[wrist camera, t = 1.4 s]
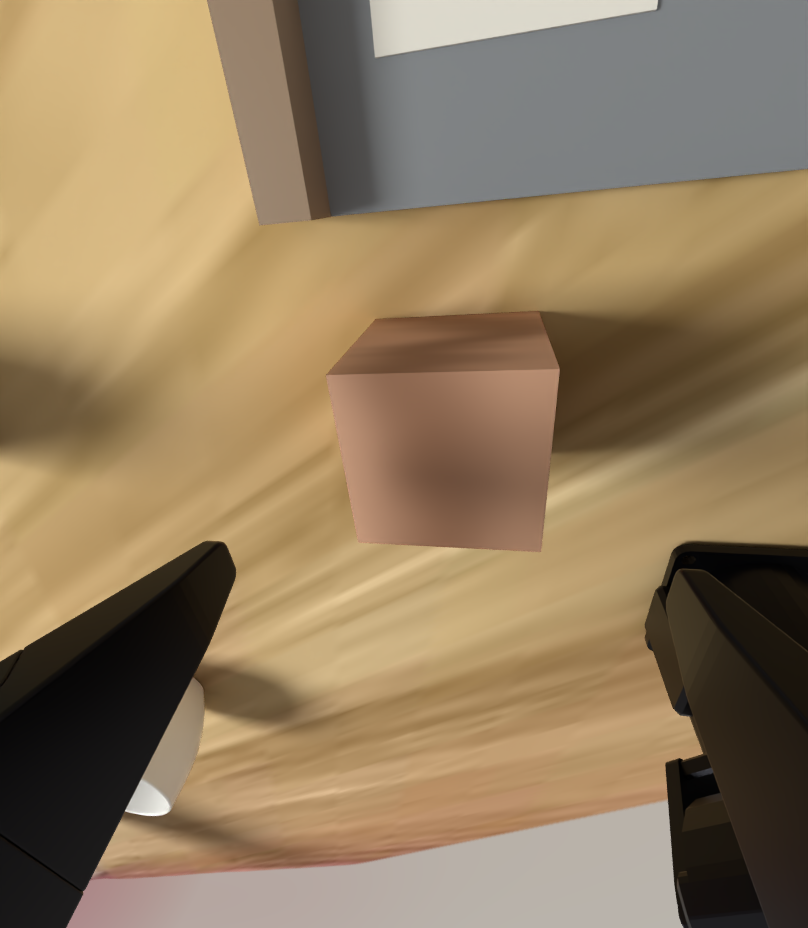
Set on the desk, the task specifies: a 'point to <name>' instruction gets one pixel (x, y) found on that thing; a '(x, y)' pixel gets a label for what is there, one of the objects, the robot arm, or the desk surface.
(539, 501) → the cube
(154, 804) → the cup
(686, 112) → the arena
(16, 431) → the desk surface
